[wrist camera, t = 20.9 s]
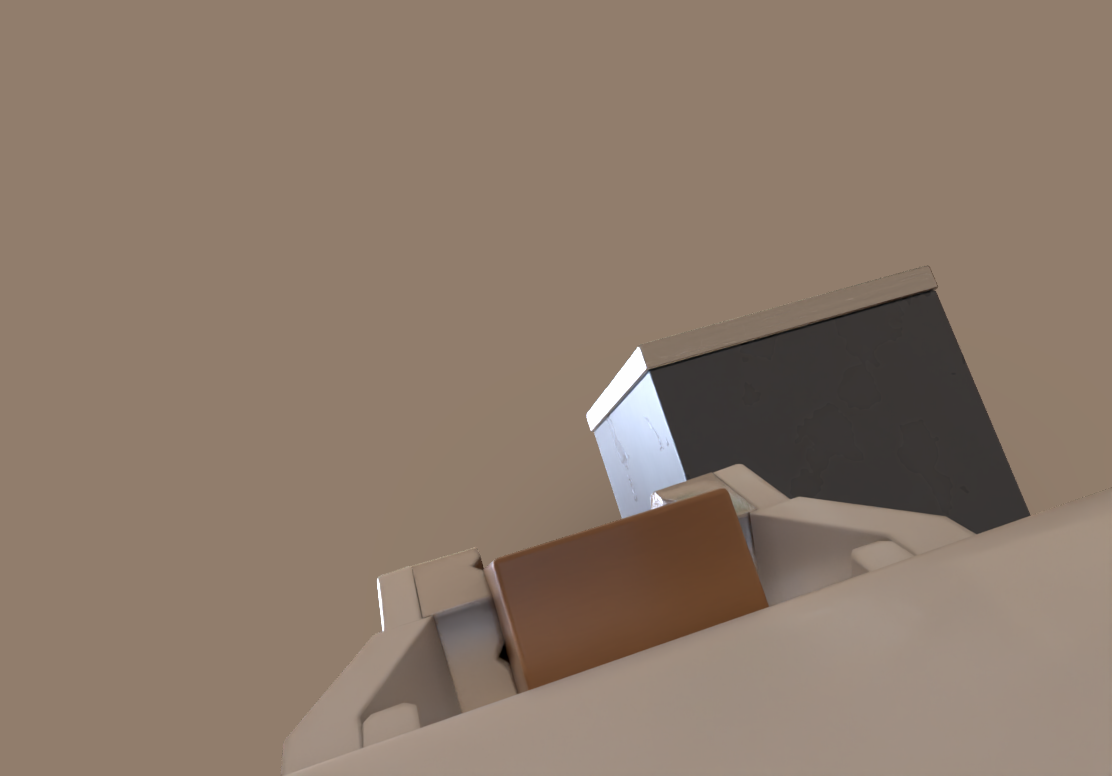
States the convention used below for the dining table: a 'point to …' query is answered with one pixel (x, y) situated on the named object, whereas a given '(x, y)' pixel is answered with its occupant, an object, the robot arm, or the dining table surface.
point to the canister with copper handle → (815, 408)
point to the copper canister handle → (623, 588)
